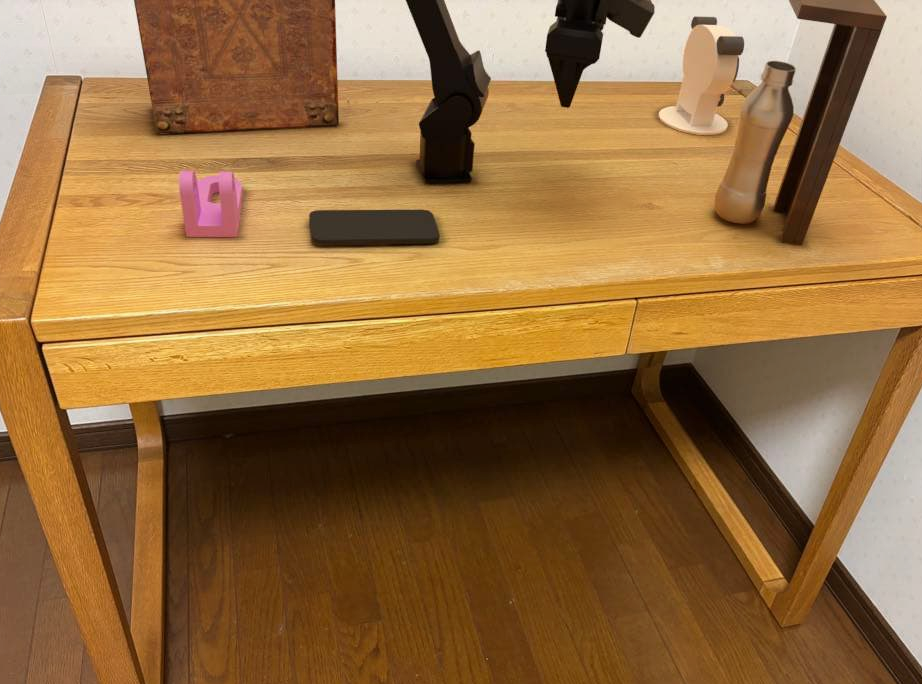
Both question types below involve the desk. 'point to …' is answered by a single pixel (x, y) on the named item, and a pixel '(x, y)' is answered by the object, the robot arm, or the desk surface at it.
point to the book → (240, 64)
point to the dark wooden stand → (827, 104)
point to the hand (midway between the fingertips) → (568, 93)
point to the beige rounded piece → (705, 78)
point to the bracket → (210, 204)
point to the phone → (373, 227)
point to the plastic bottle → (756, 145)
